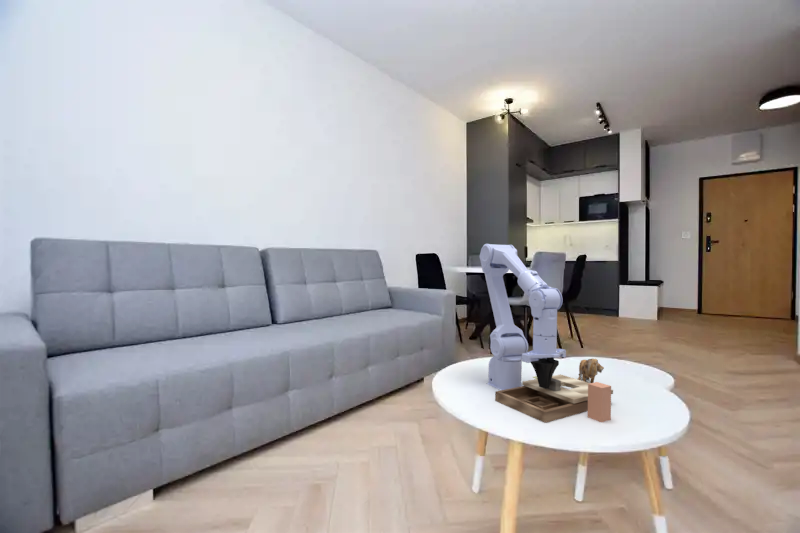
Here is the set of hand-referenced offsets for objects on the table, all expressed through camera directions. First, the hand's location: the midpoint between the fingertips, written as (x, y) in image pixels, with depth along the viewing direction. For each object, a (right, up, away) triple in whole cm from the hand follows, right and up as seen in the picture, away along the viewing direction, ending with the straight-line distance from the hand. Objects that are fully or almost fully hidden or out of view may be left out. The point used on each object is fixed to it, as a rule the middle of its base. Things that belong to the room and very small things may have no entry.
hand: (543, 387), depth 97 cm
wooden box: (-1, -5, -1) cm, 5 cm away
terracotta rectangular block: (+10, -5, -8) cm, 14 cm away
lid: (+8, -2, +4) cm, 9 cm away
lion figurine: (+22, -6, +21) cm, 31 cm away
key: (+11, -6, +22) cm, 25 cm away
